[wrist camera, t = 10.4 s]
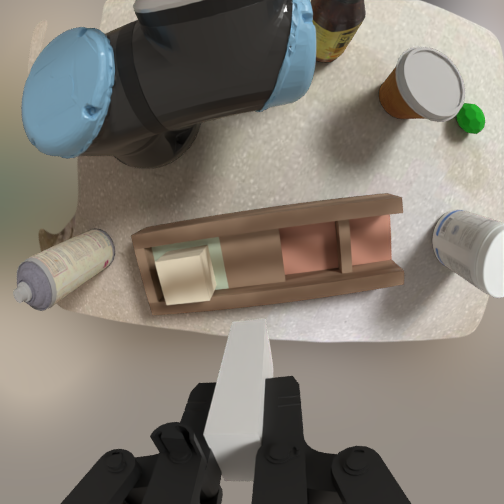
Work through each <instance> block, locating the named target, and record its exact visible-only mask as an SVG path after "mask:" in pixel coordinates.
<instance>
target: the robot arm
mask: <svg viewBox="0 0 504 504" xmlns="http://www.w3.org/2000/svg"><path fill="white" fill-rule="evenodd" d="M133 8H134V11H135V14H136V16H137V18H138V20H136V21H134V22H131V23H129V24H126V25H124V26H122V27H119V28H117V29H115V30H113V31H110V32H108V33H106V34H104V33H103V32H101V31H100V30H98V29H95V28H85V27H79V28H73V29H71V30H67V31H65V32H63V33H62V34H60V35H59V36H57V37H56V38H55V39H53V40H52V41H51V42H50V43H49V44H48V45H47V46H46V47H45V48H44V49H43V51H42V52H41V53H40V55H39V56H38V57H37V59H36V61H35V62H34V64H33V66H32V68H31V71H30V74H29V76H28V78H27V80H26V83H25V87H24V91H23V97H22V121H23V126H24V129H25V132H26V135H27V137H28V139H29V140H30V142H31V143H32V144H33V145H34V146H35V147H36V148H37V149H38V150H39V151H40V152H42V153H44V154H46V155H51V156H60V157H62V158H74V157H77V156H114V157H115V158H116V159H117V160H119V161H120V162H122V163H124V164H126V165H128V166H131V167H135V168H156V167H161V166H164V165H167V164H169V163H171V162H173V161H174V160H176V159H177V158H179V157H180V156H181V155H182V154H183V153H185V152H186V150H187V149H188V148H189V147H190V146H191V144H192V143H193V141H194V139H195V137H196V135H197V133H198V130H199V127H200V123H201V122H205V121H209V120H214V119H218V118H222V117H227V116H231V115H236V114H241V113H246V112H251V111H255V112H262V111H263V110H266V109H268V108H270V107H274V106H279V105H284V104H289V103H293V102H295V101H297V100H298V99H300V98H301V97H302V96H304V95H305V94H306V92H307V91H308V89H309V87H310V85H311V82H312V79H313V74H314V69H315V62H316V29H315V25H313V23H312V20H313V11H312V6H311V2H310V0H136V1H135V3H134V5H133ZM150 437H151V439H152V440H153V442H154V444H155V445H156V447H157V449H158V450H159V452H160V453H159V454H155V455H150V456H143V457H134V456H133V454H132V453H130V452H129V451H127V450H123V449H114V450H111V451H109V452H107V453H105V454H104V455H103V456H102V457H101V458H100V459H99V460H98V461H97V462H96V464H95V465H94V466H93V467H92V469H91V470H90V471H89V472H88V473H87V474H86V475H85V476H84V477H83V479H82V480H81V481H80V482H79V483H78V485H77V486H76V487H75V488H74V489H73V490H72V491H71V493H70V494H69V495H68V496H67V497H66V498H65V499H64V500H63V502H62V503H61V504H221V501H222V495H223V494H222V488H221V486H220V480H221V474H222V476H223V478H224V480H225V481H254V484H253V494H252V504H411V503H410V501H409V500H408V498H407V497H406V495H405V494H404V492H403V490H402V489H401V487H400V486H399V484H398V483H397V481H396V480H395V478H394V477H393V475H392V474H391V472H390V471H389V469H388V468H387V466H386V464H385V463H384V462H383V460H382V458H381V457H380V455H379V454H378V453H377V452H376V451H375V450H373V449H371V448H368V447H365V446H354V447H349V448H347V449H345V450H343V451H341V452H339V453H338V454H329V453H323V452H318V451H316V450H314V449H312V448H311V447H309V446H308V445H307V443H306V442H305V440H304V435H303V422H302V411H301V399H300V390H299V384H298V382H297V381H296V380H295V378H294V377H293V376H287V377H278V378H273V363H272V356H271V349H270V343H269V337H268V330H267V324H266V318H264V319H255V320H245V321H235V322H232V325H231V329H230V333H229V336H228V341H227V344H226V348H225V352H224V356H223V360H222V364H221V368H220V371H219V375H218V379H217V382H216V383H199V384H198V385H197V386H196V387H195V388H194V389H193V390H192V391H191V393H190V396H189V399H188V403H187V404H186V407H185V411H184V413H183V416H182V419H181V422H180V423H179V422H172V423H167V424H164V425H161V426H159V427H158V428H157V429H156V430H154V431H153V433H152V434H151V436H150Z"/></svg>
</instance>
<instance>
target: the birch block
mask: <svg viewBox="0 0 504 504" xmlns="http://www.w3.org/2000/svg"><path fill="white" fill-rule="evenodd" d="M155 265H156V269H157V273H158V276H159V280H160V284H161V287H162V291H163V294H164V298H165V301H166V304H167V305H173V304H183V303H192V302H202V301H210V299H211V297H212V295H213V293H214V290H215V288H216V286H217V284H216V280H215V275H214V271H213V266H212V262H211V257H210V253H209V248H208V245H203V246H196V247H190V248H184V249H178V250H171V251H167V252H166V253H165V254H164V255H162V256H161V257H160V258H159V259H158V260H157V261H155Z"/></svg>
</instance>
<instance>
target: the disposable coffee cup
mask: <svg viewBox="0 0 504 504" xmlns="http://www.w3.org/2000/svg"><path fill="white" fill-rule="evenodd" d="M379 99H380V102H381V105H382V106H383V108H384V109H385V111H386V112H387V113H389V114H390V115H391V116H393V117H396V118H399V119H416V118H422V119H429V120H431V121H437V122H444V121H447V120H450V119H452V118H453V117H454V116H456V115H457V113H458V112H459V110H460V109H461V107H462V106H463V103H464V99H465V86H464V81H463V79H462V76H461V74H460V72H459V70H458V68H457V67H456V65H455V64H454V63H453V62H452V61H451V60H450V59H449V58H448V57H447V56H446V55H445V54H443V53H442V52H440V51H438V50H436V49H433V48H428V47H412V48H410V49H407V50H406V51H405V52H403V53H402V55H401V56H400V57H399V59H398V62H397V65H396V67H395V68H394V70H393V71H392V72H391V74H390V75H389V76H388V78H387V79H386V80H385V82H384V83H383V84H382V85H381V87H380V90H379Z"/></svg>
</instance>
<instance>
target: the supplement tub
mask: <svg viewBox="0 0 504 504" xmlns="http://www.w3.org/2000/svg"><path fill="white" fill-rule="evenodd" d="M432 243H433V249H434V253H435V255H436V257H437V259H438V260H439V261H440V262H441V263H442V264H443V265H444V266H446V267H447V268H449V269H450V270H452V271H453V272H455V273H457V274H458V275H459V276H461V277H462V278H464V279H465V280H467V281H468V282H470V283H471V284H473V285H474V286H475V287H477V288H478V289H480V290H481V291H483V292H484V293H486V294H488V295H490V296H492V297H495V298H502V297H504V223H503V222H500V221H497V220H494V219H491V218H487V217H484V216H481V215H477V214H474V213H471V212H467V211H463V210H459V209H456V210H451V211H449V212H447V213H446V214H444V215H443V216H442V217H441V218H440V219H439V221H438V223H437V224H436V227H435V229H434V233H433V240H432Z"/></svg>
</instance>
